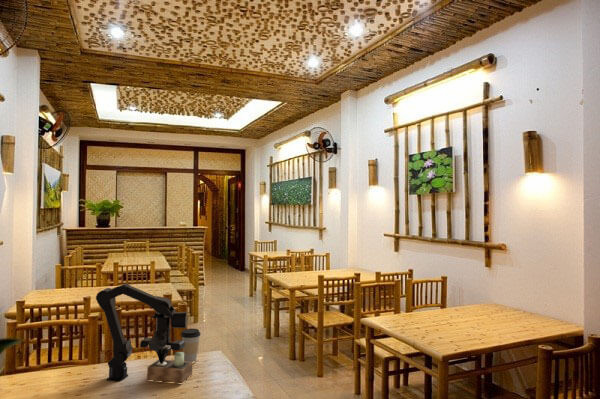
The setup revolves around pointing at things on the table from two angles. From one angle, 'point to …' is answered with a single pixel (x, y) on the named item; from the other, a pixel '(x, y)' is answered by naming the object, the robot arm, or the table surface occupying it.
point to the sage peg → (179, 359)
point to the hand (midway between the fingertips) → (161, 363)
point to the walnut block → (169, 372)
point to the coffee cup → (190, 344)
